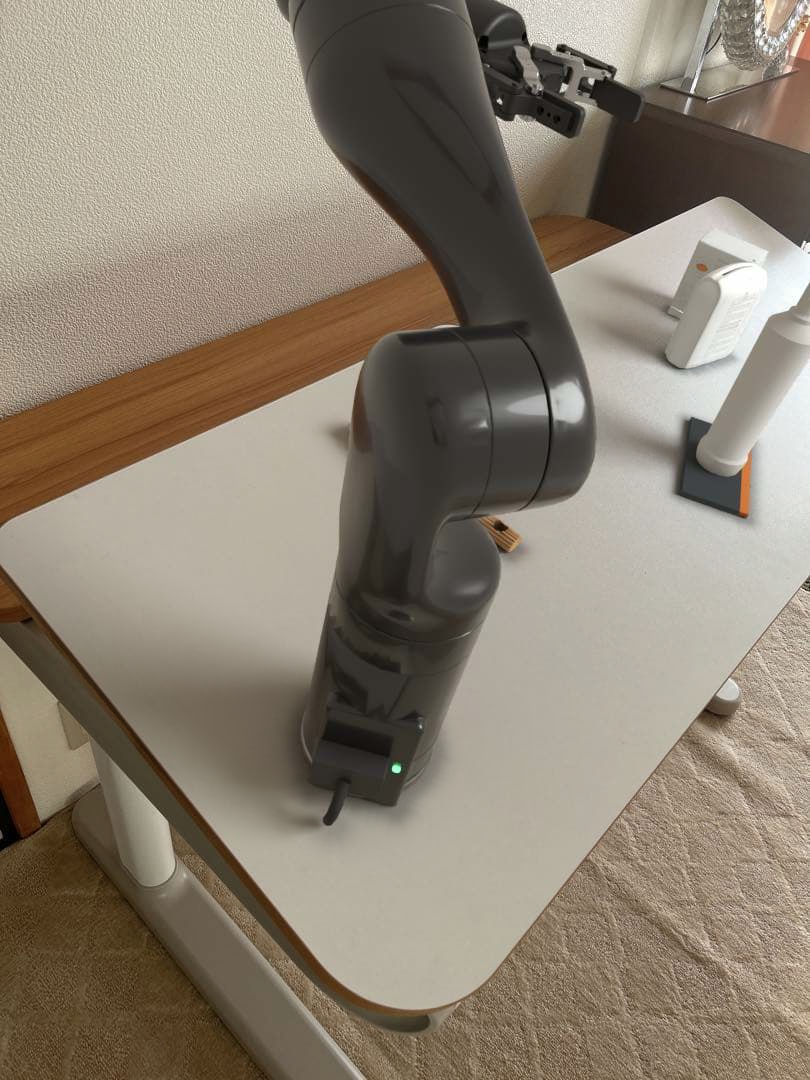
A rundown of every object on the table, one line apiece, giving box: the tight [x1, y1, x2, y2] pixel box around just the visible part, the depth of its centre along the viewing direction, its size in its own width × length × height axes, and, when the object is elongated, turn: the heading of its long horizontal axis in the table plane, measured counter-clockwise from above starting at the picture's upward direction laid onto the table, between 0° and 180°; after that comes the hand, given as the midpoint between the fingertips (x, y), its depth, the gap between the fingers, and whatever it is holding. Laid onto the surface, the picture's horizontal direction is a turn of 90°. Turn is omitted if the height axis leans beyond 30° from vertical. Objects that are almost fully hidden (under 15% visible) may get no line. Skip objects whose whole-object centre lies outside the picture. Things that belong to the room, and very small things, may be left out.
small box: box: [667, 227, 769, 320], centre depth 114 cm, size 8×6×10 cm
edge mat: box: [679, 416, 752, 519], centre depth 94 cm, size 14×7×1 cm, turn 162°
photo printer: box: [664, 262, 768, 370], centre depth 106 cm, size 10×4×12 cm, turn 126°
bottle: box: [696, 281, 810, 477], centre depth 85 cm, size 5×5×25 cm
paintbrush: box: [348, 422, 522, 553], centre depth 82 cm, size 4×3×20 cm
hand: (611, 117), depth 68 cm, fingers open, 8 cm apart
